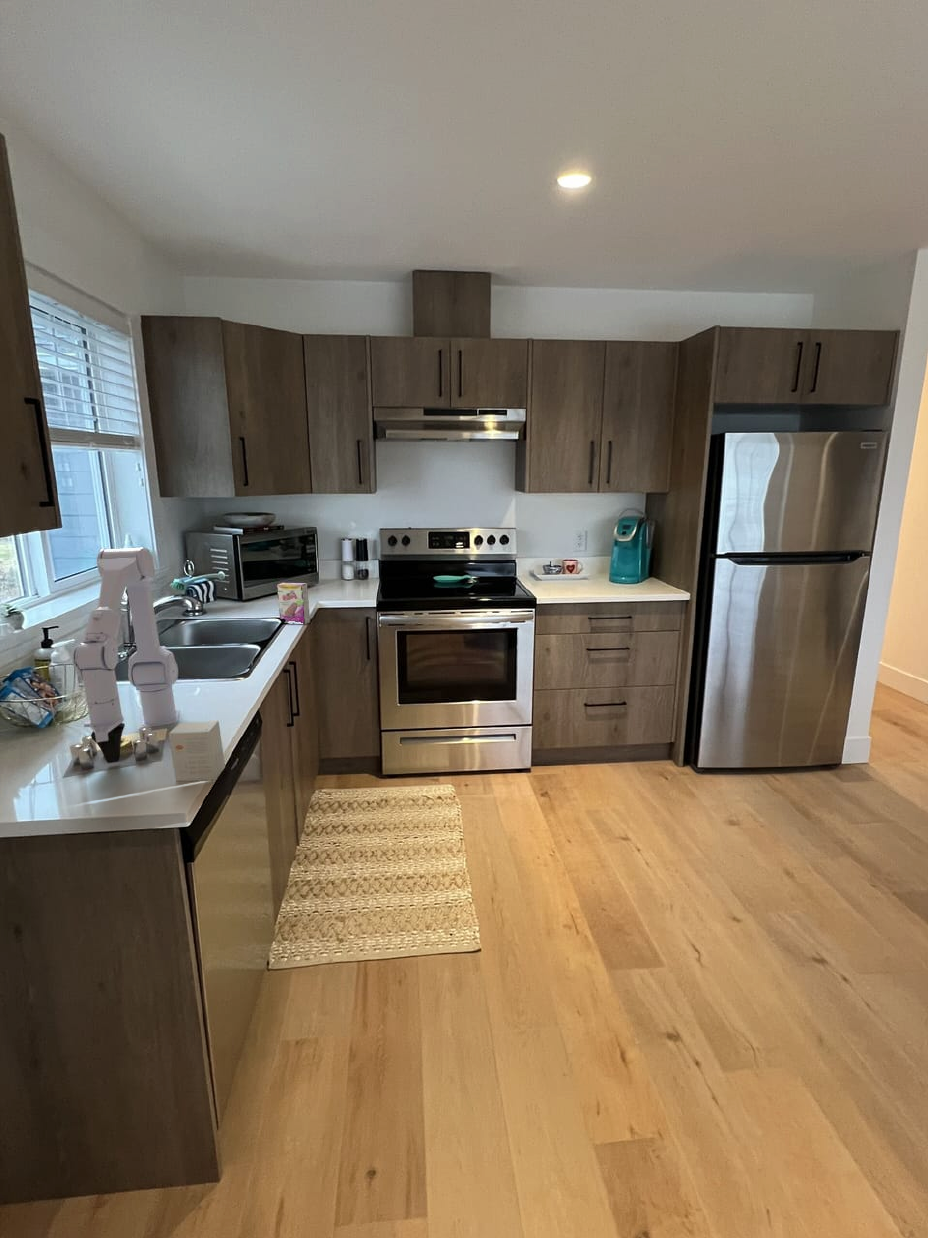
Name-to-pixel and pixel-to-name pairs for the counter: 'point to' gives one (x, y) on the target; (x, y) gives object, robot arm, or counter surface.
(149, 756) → the spacer mat
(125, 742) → the brass nut
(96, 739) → the robot arm
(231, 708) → the counter surface
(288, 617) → the candy bar box
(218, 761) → the small box
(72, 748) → the standing spacers
